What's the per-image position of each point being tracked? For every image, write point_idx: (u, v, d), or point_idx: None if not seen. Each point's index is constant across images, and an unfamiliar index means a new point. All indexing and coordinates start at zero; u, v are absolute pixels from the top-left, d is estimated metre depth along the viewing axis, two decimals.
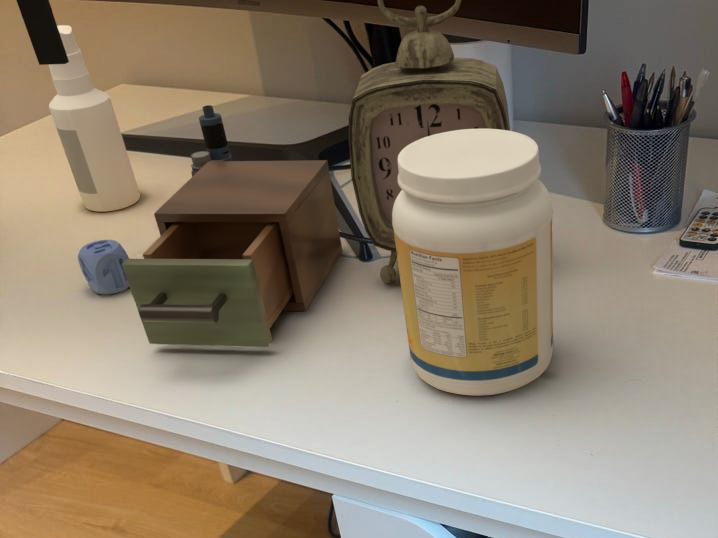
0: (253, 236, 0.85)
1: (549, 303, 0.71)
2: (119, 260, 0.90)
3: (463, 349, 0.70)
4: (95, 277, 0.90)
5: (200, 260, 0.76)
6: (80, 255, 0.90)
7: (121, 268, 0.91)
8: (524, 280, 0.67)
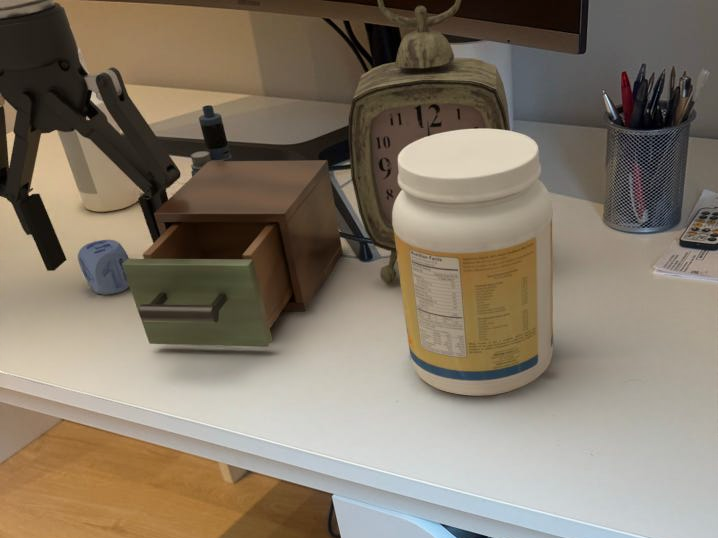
0: (253, 236, 0.85)
1: (549, 303, 0.71)
2: (119, 260, 0.90)
3: (463, 349, 0.70)
4: (95, 277, 0.90)
5: (200, 260, 0.76)
6: (80, 255, 0.90)
7: (121, 268, 0.91)
8: (524, 280, 0.67)
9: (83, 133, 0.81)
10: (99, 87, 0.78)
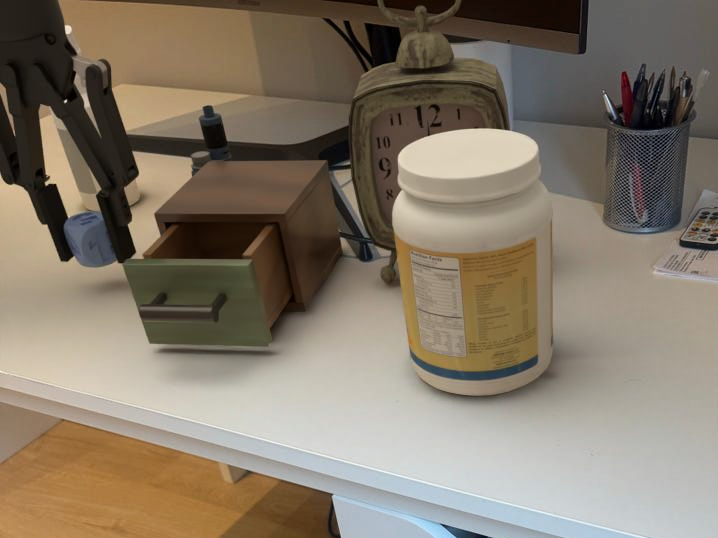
0: (253, 236, 0.85)
1: (549, 303, 0.71)
2: (106, 232, 0.89)
3: (463, 349, 0.70)
4: (81, 249, 0.88)
5: (200, 260, 0.76)
6: (66, 226, 0.88)
7: (108, 241, 0.89)
8: (525, 280, 0.67)
9: (57, 114, 0.80)
10: (87, 76, 0.78)
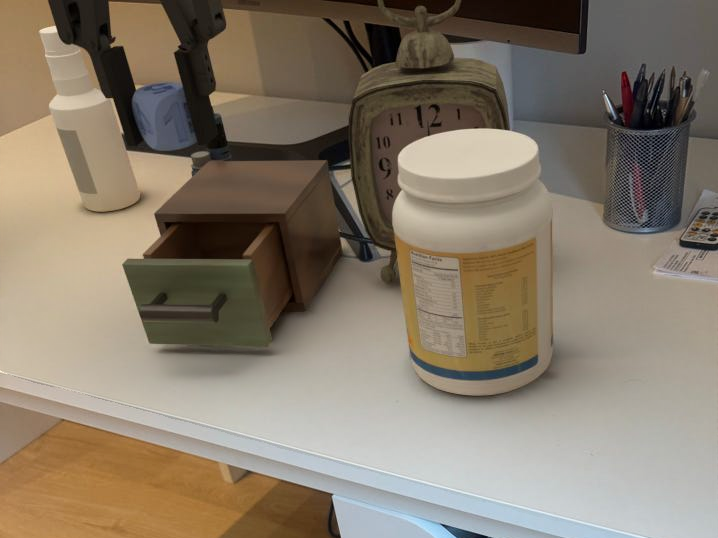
0: (253, 236, 0.85)
1: (549, 303, 0.71)
2: (183, 105, 0.72)
3: (463, 349, 0.70)
4: (154, 125, 0.72)
5: (200, 260, 0.76)
6: (135, 97, 0.72)
7: (186, 116, 0.73)
8: (525, 280, 0.67)
9: None
10: None
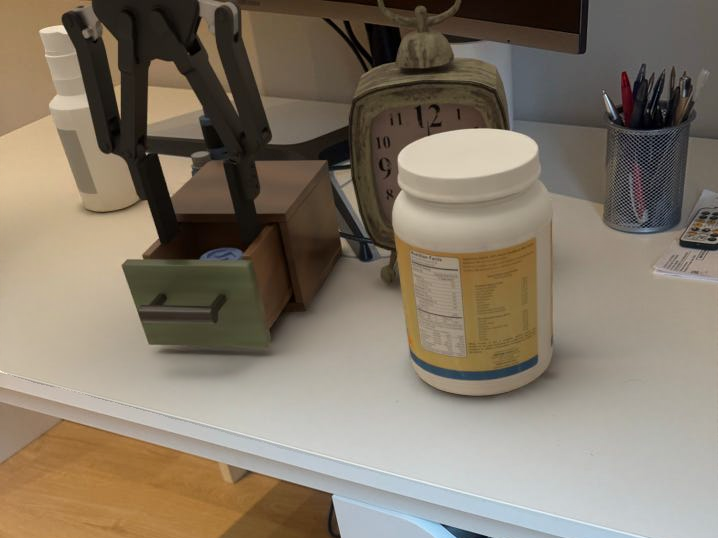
0: None
1: (549, 303, 0.71)
2: None
3: (463, 349, 0.70)
4: None
5: (199, 261, 0.76)
6: None
7: None
8: (524, 280, 0.67)
9: (181, 69, 0.69)
10: (216, 20, 0.67)
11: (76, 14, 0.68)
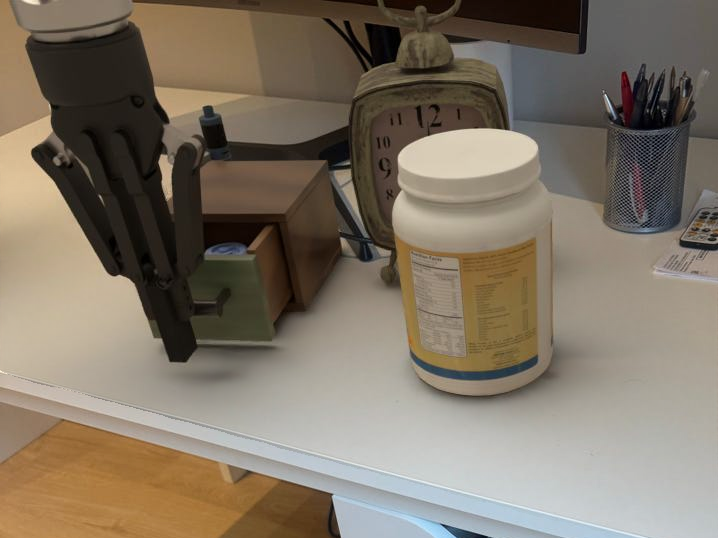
0: (256, 232, 0.86)
1: (549, 303, 0.71)
2: None
3: (463, 349, 0.70)
4: None
5: (204, 255, 0.77)
6: None
7: None
8: (524, 280, 0.67)
9: (131, 191, 0.66)
10: (178, 154, 0.64)
11: (44, 145, 0.66)
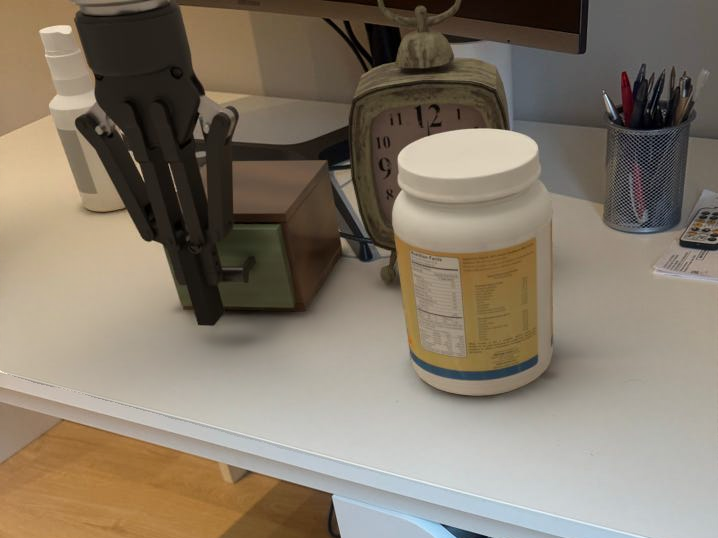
0: None
1: (549, 303, 0.71)
2: None
3: (463, 349, 0.70)
4: None
5: None
6: None
7: None
8: (524, 280, 0.67)
9: (168, 158, 0.70)
10: (213, 123, 0.68)
11: (87, 115, 0.70)
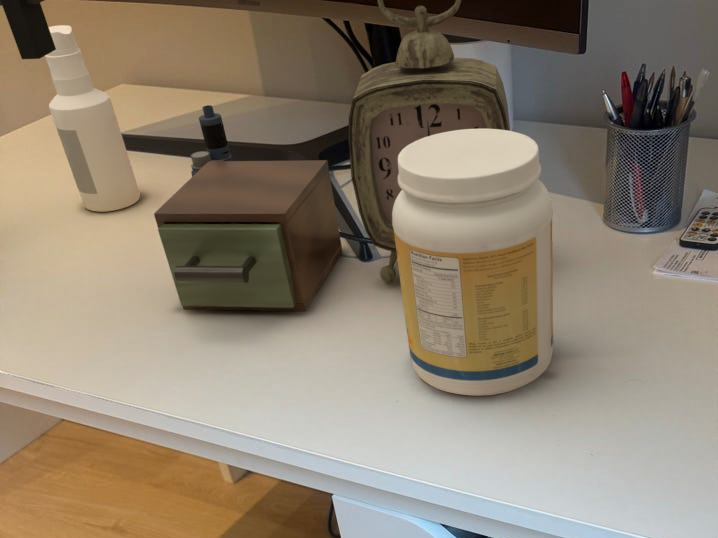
0: None
1: (549, 303, 0.71)
2: None
3: (463, 349, 0.70)
4: None
5: (231, 225, 0.81)
6: None
7: None
8: (524, 280, 0.67)
9: None
10: None
11: None
